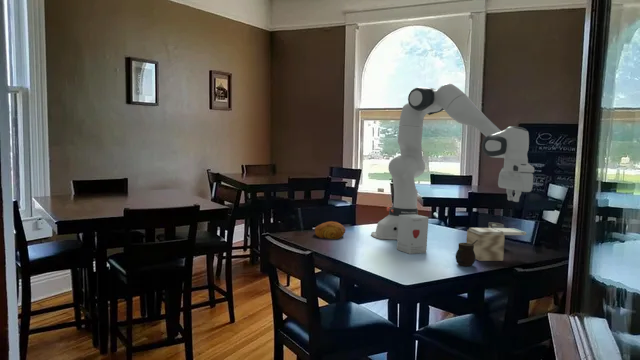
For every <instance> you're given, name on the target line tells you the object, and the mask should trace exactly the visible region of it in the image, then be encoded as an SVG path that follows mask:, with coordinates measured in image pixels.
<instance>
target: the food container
mask: <svg viewBox="0 0 640 360" xmlns="http://www.w3.org/2000/svg"><path fill="white" fill-rule="evenodd" d="M488 228H505V226H504V224H502V223H499V222H491V221H489V222H488Z"/></svg>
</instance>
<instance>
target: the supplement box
mask: <svg viewBox="0 0 640 360" xmlns="http://www.w3.org/2000/svg"><path fill="white" fill-rule="evenodd" d="M428 231H429V217H428V216H424V215H421V214H418V215H417V214H408V215H399V224H398V239H397V242H396V250H398V251H400V252H403V253H406V254H408V255H414V254H426V253H427V246H428V233H429V232H428Z"/></svg>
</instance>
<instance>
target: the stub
mask: <svg viewBox="0 0 640 360" xmlns="http://www.w3.org/2000/svg"><path fill="white" fill-rule="evenodd" d="M494 229H496V230H499V231H502V232H503V235H504V236H527V232H526V231H523V230H520V229H518V228H514V227H508V228H507V227H504V228H494Z"/></svg>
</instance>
